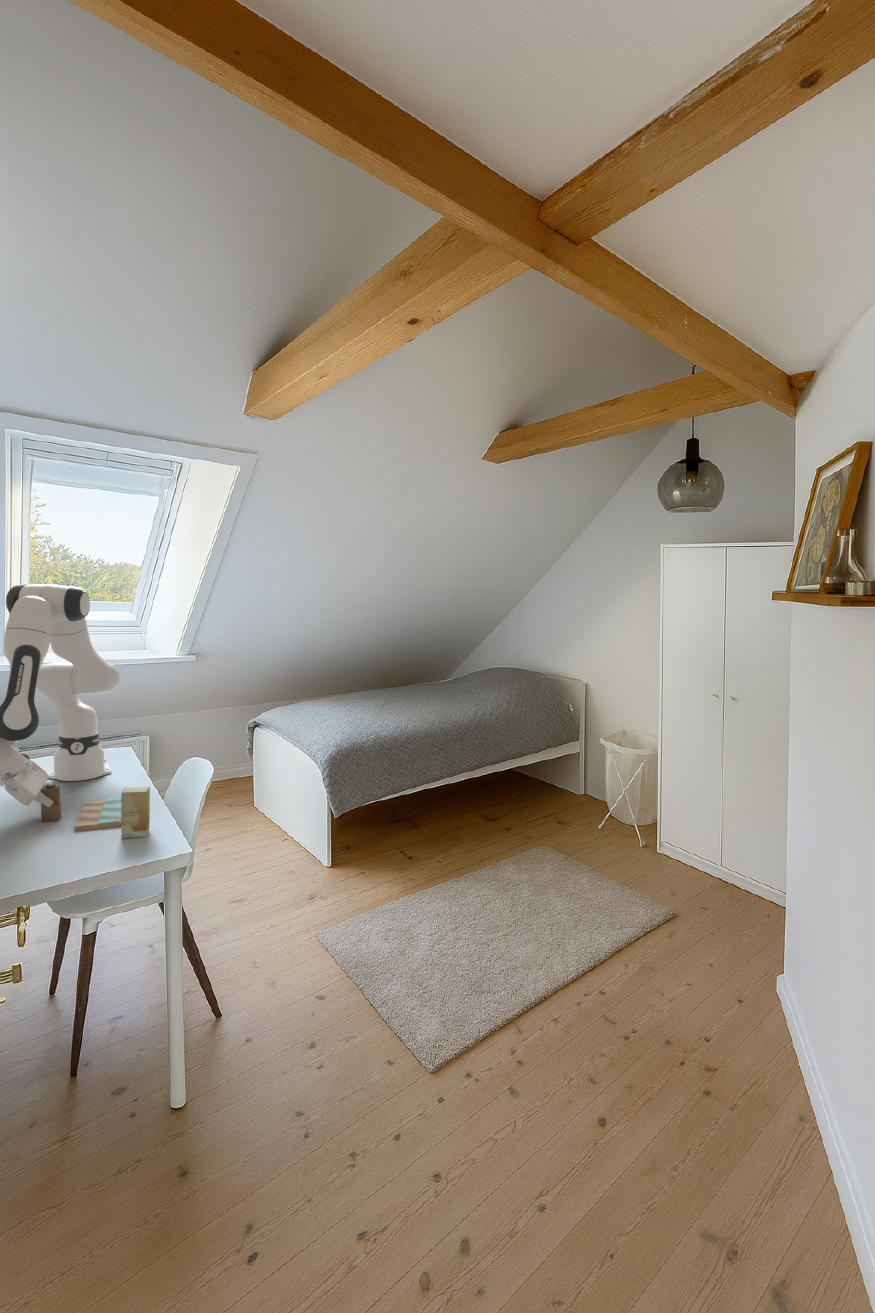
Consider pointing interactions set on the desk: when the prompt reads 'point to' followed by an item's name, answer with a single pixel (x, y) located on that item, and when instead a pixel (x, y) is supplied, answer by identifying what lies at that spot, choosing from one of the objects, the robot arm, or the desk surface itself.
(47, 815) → the walnut post
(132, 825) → the skincare box
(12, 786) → the robot arm
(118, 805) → the tan flat board
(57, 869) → the desk surface
